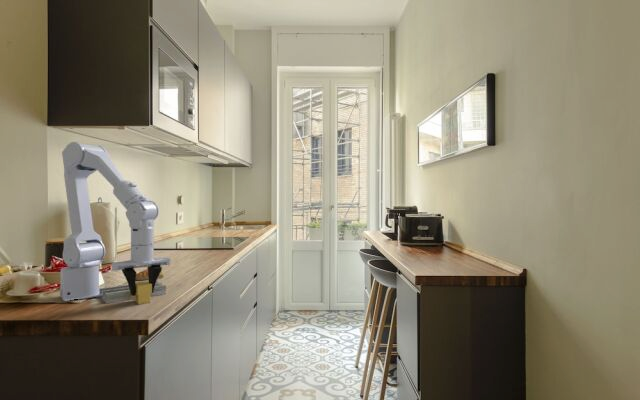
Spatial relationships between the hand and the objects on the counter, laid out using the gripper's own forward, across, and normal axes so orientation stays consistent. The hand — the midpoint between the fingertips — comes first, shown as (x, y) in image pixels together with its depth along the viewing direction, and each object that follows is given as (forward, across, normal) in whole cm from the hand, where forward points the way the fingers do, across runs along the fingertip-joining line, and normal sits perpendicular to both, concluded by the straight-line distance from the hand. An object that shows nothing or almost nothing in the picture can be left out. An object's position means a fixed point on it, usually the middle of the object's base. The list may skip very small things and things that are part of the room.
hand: (142, 293), depth 105 cm
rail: (+2, 0, +8) cm, 9 cm away
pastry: (+3, +11, +30) cm, 32 cm away
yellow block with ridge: (+2, 0, 0) cm, 2 cm away
